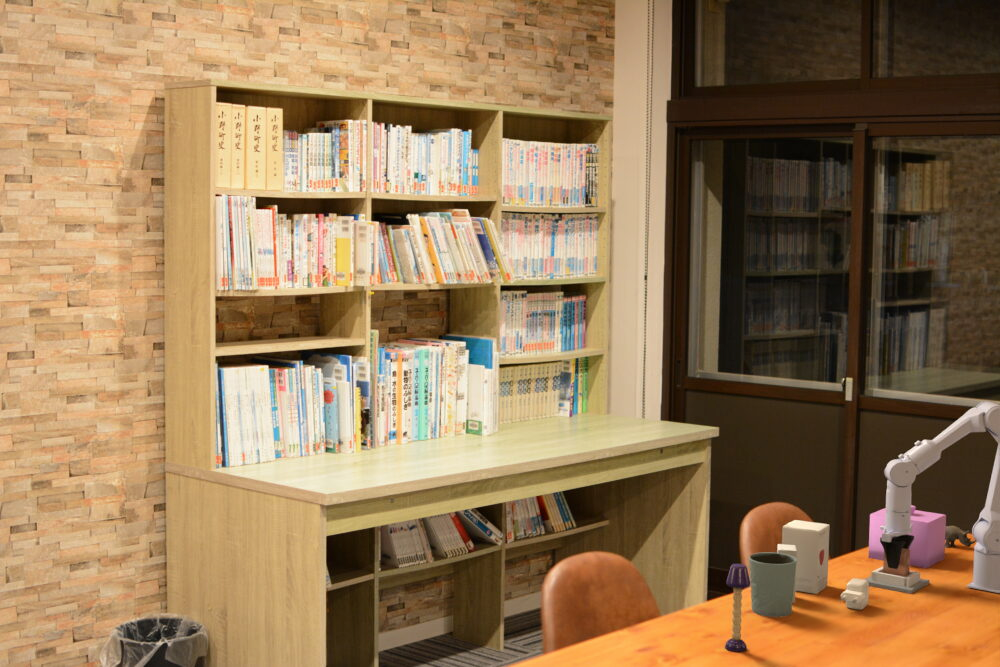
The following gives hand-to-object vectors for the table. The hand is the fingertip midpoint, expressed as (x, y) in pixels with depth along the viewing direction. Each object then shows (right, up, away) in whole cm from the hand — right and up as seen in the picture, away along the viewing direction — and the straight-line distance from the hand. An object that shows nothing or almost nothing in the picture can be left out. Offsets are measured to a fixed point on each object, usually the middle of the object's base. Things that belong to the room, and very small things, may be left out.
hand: (896, 566), depth 282 cm
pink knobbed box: (+10, -3, +24) cm, 26 cm away
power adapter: (-16, -6, -21) cm, 27 cm away
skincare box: (-30, -5, -14) cm, 33 cm away
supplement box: (-23, -4, -4) cm, 24 cm away
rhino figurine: (+27, -3, +38) cm, 47 cm away
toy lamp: (-48, -7, -48) cm, 68 cm away
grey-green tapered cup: (-35, -5, -24) cm, 43 cm away
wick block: (0, -2, 0) cm, 2 cm away
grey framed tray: (0, -4, 0) cm, 4 cm away
